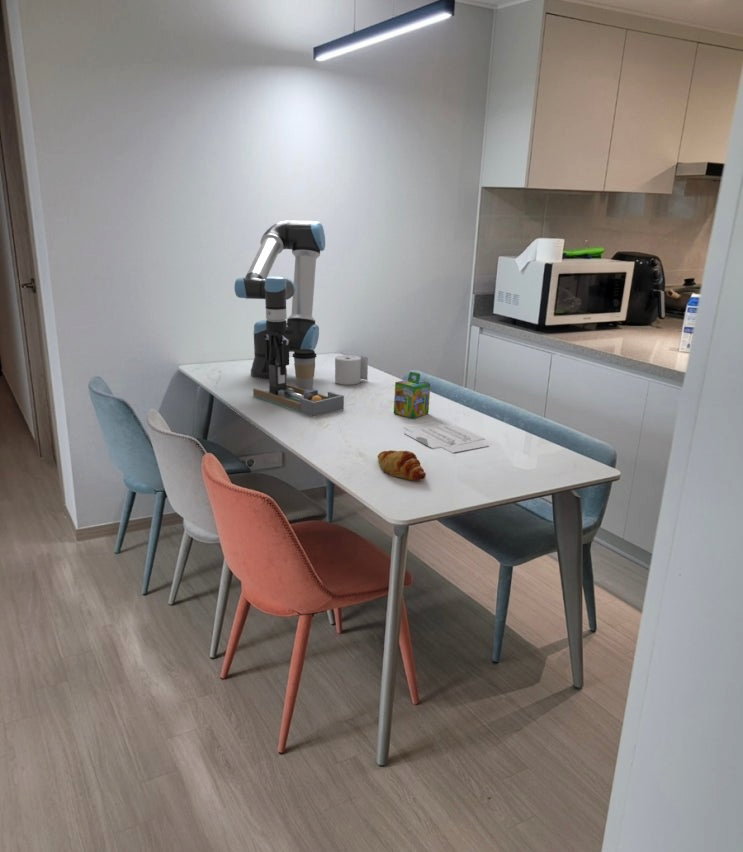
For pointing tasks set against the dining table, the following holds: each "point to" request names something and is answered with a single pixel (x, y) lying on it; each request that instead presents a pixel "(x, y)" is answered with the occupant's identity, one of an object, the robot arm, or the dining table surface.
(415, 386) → the chalk box
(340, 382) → the toilet tissue
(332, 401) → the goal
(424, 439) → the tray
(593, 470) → the dining table surface
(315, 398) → the ball
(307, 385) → the coffee cup
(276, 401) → the lane
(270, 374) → the striker rod
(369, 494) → the dining table surface
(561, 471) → the dining table surface
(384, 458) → the croissant
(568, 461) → the dining table surface
